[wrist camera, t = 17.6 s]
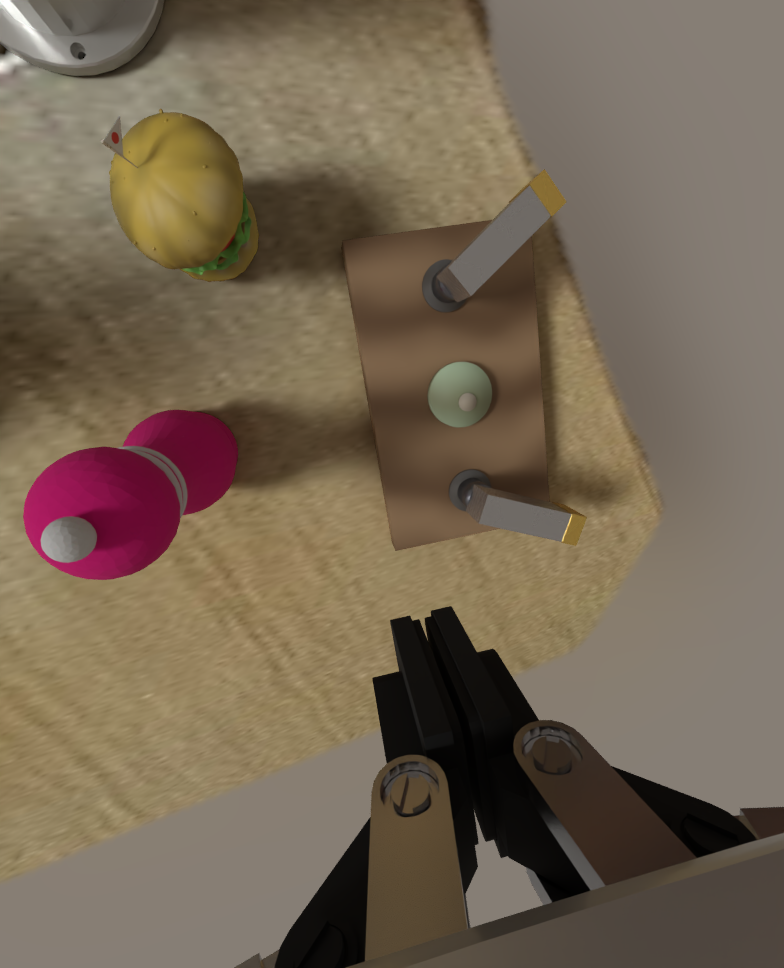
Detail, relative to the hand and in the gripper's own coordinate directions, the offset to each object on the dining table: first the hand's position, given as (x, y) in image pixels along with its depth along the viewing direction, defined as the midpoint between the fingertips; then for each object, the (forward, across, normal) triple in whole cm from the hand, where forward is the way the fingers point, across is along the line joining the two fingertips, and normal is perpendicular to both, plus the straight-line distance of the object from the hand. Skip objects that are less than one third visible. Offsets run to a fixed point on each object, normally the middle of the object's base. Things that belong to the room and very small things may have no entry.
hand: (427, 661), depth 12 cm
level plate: (+27, -9, -4) cm, 29 cm away
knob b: (+25, -12, +5) cm, 28 cm away
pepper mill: (+27, +12, -3) cm, 30 cm away
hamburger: (+27, +7, -18) cm, 33 cm away
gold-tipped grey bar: (+25, -11, -14) cm, 30 cm away
